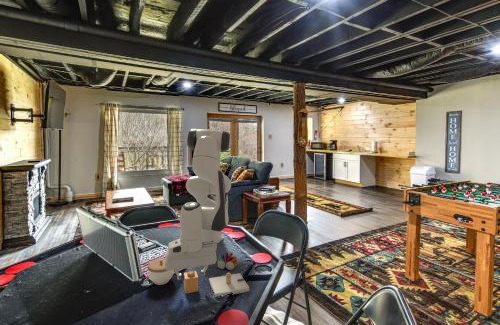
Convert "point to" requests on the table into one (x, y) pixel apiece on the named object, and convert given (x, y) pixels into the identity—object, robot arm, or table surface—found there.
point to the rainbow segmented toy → (227, 261)
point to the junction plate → (228, 284)
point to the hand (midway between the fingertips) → (191, 276)
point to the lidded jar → (159, 271)
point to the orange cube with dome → (190, 281)
